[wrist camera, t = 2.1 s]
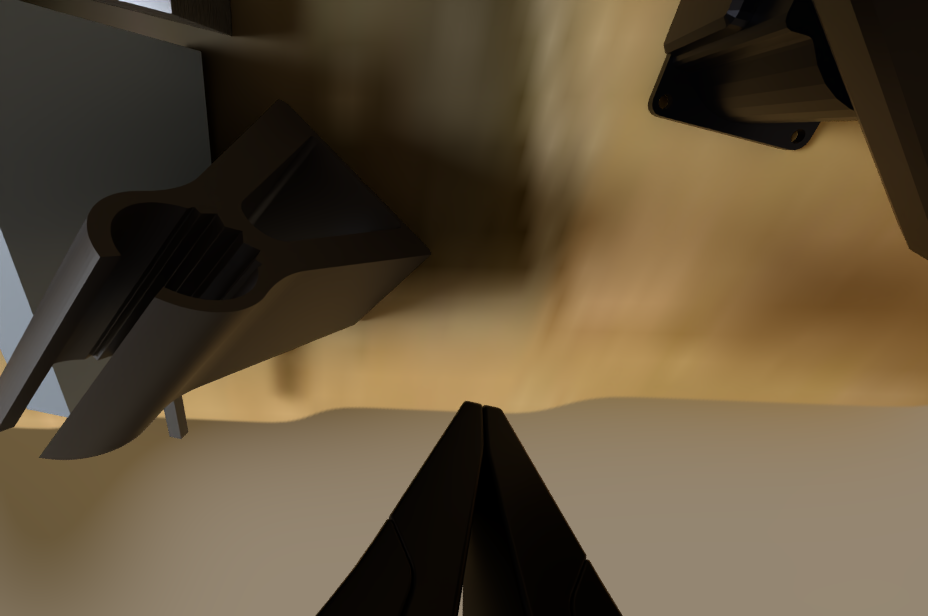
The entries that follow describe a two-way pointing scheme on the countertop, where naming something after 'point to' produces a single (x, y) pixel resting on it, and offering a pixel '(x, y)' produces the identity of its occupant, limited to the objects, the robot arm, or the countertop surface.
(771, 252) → the countertop surface
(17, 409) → the phone stand
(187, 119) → the paddle
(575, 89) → the countertop surface
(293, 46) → the countertop surface
